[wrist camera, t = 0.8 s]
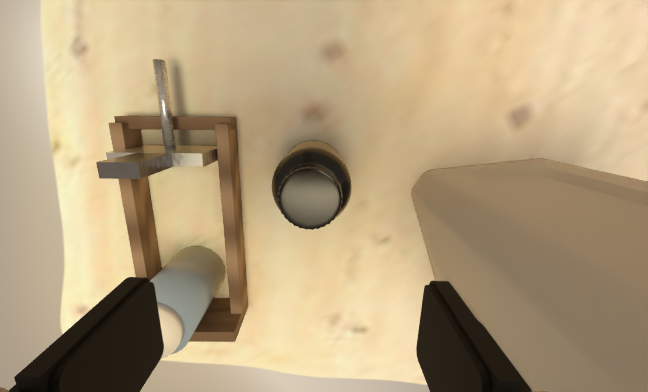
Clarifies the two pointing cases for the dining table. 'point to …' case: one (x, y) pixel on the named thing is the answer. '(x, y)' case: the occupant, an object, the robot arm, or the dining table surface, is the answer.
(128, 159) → the pusher
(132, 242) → the brown wooden open box
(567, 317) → the grey corner cabinet
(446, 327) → the robot arm
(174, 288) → the blue jar
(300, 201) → the supplement bottle
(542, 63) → the dining table surface
